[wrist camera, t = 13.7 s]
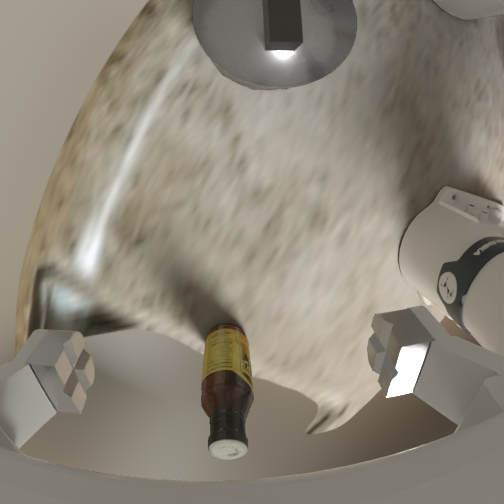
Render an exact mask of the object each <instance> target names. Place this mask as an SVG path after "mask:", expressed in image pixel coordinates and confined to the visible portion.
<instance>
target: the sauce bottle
mask: <svg viewBox="0 0 504 504" xmlns="http://www.w3.org/2000/svg"><path fill="white" fill-rule="evenodd" d="M253 400H254V392H253V382H252V371H251V362H250V352H249V343H248V340H247V337H246V335H245V333H244V332H243V331H242V330H241V329H240V328H238V327H235V326H233V325H220V326H217V327H215V328H213V329H212V330H211V331H210V332H209V334H208V336H207V339H206V342H205V351H204V362H203V373H202V396H201V402H202V407H203V409H204V411H205V413H206V414H207V416H208V417H210V425H211V427H210V436H209V439H208V450H209V452H210V454H212V455H213V456H216V457H217V458H220V459H236V458H238V457H241V456H243V455H244V454H246V452H247V451H248V439H247V437H246V433H245V422H246V418H247V415H248V413H249V410H250V407H251V405H252V402H253Z"/></svg>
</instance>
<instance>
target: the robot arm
mask: <svg viewBox="0 0 504 504" xmlns="http://www.w3.org/2000/svg"><path fill="white" fill-rule="evenodd" d="M453 195H454V197H453V199H452V196H453ZM399 265H400V270H401V273H402V276H403V278H404V279H405V281H406V282H407V283H408V284H409V285H410V286H411V287H413V288H414V289H416V290H417V291H418V292H419V295H420V297H421V299H422V301H423V302H425V303H426V304H427V305H431V304H433V305H434V306H435V307H436V308H438V309H439V310H440V311H441V312H442V313H444V314H445V315H446V316H447V317H448V318H450V319H452V320H454V321H455V323H456V324H457V325H458V326H459V327H460V328H461V329H463V330H464V331H465V332H466V333H469V334H472V335H473V336H474V337H475V339H476V340H477V341H478V342H479V343H480V344H481V346H482V347H483V348H482V347H480V346H477V345H475V344H473V343H470V342H468V341H466V340H464V339H461V338H459V337H457V336H453V337H451V336H450V335H449V334H448V333H447V332H446V330H445V329H444V328H443V327H442V326H441V324H440V323H439V322H438V321H437V320H436V319H435V318H434V316H433V315H432V314H431V313H430V312H429V311H428V310H427V308H426V307H424V306H416V307H411V308H407V309H403V310H397V311H391V312H385V313H378V314H375V315H374V317H373V320H372V325H371V327H372V328H373V330H374V334H373V335H372V336H371V337H370V338H369V341H368V347H367V352H368V360H369V364H370V366H371V368H372V370H373V371H375V372H376V373H378V374H380V376H379V380H378V382H379V384H380V386H381V388H382V390H383V392H384V394H385V396H386V398H388V397H392V396H397V395H401V394H406V393H410V392H413V394H415V395H416V396H417V397H419V398H420V399H422V400H423V401H425V402H426V403H427V404H429V405H430V406H432V407H433V408H434V409H436V410H437V411H439V412H440V413H442V414H443V415H444V416H446V417H447V418H449V419H450V420H451V421H453V422H454V423H456V424H457V425H459V426H458V427H457V429H456V431H455V432H454V434H452V435H449V436H447V437H444V438H441V439H439V440H436V441H433V442H430V443H427V444H425V445H422V446H419V447H416V448H413V449H409V450H406V451H403V452H400V453H396V454H393V455H389V456H386V457H382V458H379V459H374V460H370V461H367V462H363V463H358V464H353V465H349V466H344V467H339V468H334V469H329V470H323V471H317V472H311V473H304V474H297V475H290V476H281V477H272V478H261V479H247V480H223V481H187V480H165V479H150V478H140V477H129V476H122V475H114V474H107V473H101V472H95V471H89V470H84V469H79V468H74V467H69V466H64V465H60V464H55V463H51V462H48V461H44V460H40V459H36V458H33V457H29V456H26V455H24V454H23V453H22V452H21V451H20V450H19V448H20V447H21V446H22V445H23V444H24V443H25V442H26V441H27V440H28V439H29V438H30V437H31V436H32V435H33V434H35V433H36V432H37V431H38V430H39V429H40V428H41V427H42V426H43V425H44V424H45V423H46V422H47V421H48V420H49V419H50V418H51V417H52V416H53V415H54V414H56V411H59V412H68V413H77V414H81V411H82V408H83V406H84V403H85V401H86V399H87V396H86V393H85V391H86V390H87V389H88V388H90V387H91V386H92V383H93V381H94V373H95V368H94V364H93V360H92V358H91V355H90V354H89V353H87V352H86V351H85V350H84V347H85V344H86V343H85V340H84V338H83V336H82V334H81V333H79V332H78V331H61V330H42V329H38V330H35V331H34V332H33V333H32V334H31V336H30V337H29V339H28V340H27V341H26V343H25V344H24V346H23V347H22V348H21V350H20V351H19V353H18V354H17V356H16V357H15V358H14V360H13V362H7V363H6V364H4V365H2V366H0V504H504V206H503V205H501V204H499V203H497V202H494V201H491V200H488V199H485V198H483V197H480V196H477V195H474V194H471V193H468V192H465V191H462V190H458V189H455V188H452V187H449V186H445V187H443V188H442V189H441V190H440V191H439V193H438V194H437V196H436V198H435V199H434V201H433V202H432V203H431V204H430V205H429V206H428V207H427V208H425V209H424V210H423V211H421V212H420V213H419V214H418V215H417V216H416V217H415V219H414V220H413V221H412V222H411V224H410V225H409V227H408V229H407V231H406V233H405V235H404V237H403V240H402V243H401V247H400V253H399Z"/></svg>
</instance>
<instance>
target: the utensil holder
mask: <svg viewBox="0 0 504 504" xmlns="http://www.w3.org/2000/svg"><path fill="white" fill-rule="evenodd" d="M433 1H434V2H435V3H436V4H437V5H438V6H439V7H440V8H442V9H443V10H444V11H446V12H447V13H449V14H451V15H452V16H455V17H457V18H460V19H464V20H470V19H477V18H484V17H491V16H497V15H503V14H504V0H433Z"/></svg>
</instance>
